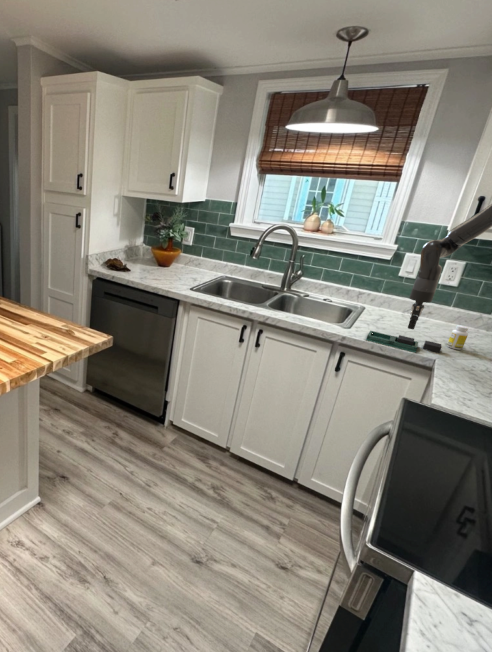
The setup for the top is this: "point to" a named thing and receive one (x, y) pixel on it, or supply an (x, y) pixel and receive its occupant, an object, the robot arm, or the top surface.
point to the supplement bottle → (458, 337)
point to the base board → (390, 341)
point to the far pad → (432, 346)
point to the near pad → (405, 340)
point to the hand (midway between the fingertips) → (411, 326)
